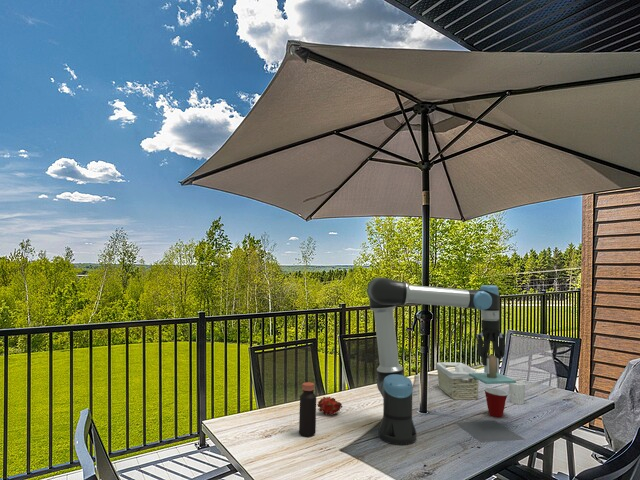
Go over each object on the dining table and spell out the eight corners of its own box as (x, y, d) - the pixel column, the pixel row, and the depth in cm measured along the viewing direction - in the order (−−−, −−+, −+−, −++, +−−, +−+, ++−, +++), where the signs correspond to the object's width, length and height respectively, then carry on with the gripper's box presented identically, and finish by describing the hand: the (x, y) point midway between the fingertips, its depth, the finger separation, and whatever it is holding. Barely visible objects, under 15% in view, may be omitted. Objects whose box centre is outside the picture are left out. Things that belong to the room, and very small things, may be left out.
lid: (486, 384, 167) (485, 360, 168) (468, 375, 181) (468, 353, 181) (516, 383, 169) (515, 359, 170) (496, 374, 183) (496, 352, 184)
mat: (480, 443, 156) (480, 442, 156) (454, 423, 176) (454, 422, 176) (525, 440, 160) (525, 439, 160) (494, 421, 179) (494, 420, 179)
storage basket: (481, 400, 209) (480, 372, 210) (451, 400, 208) (450, 372, 209) (462, 387, 232) (462, 362, 234) (435, 387, 232) (435, 361, 233)
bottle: (306, 429, 166) (307, 380, 168) (318, 433, 162) (319, 383, 163) (295, 434, 161) (296, 383, 162) (308, 438, 156) (309, 387, 158)
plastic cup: (511, 421, 180) (511, 394, 181) (486, 419, 182) (486, 392, 183) (505, 413, 190) (505, 387, 191) (481, 411, 192) (481, 386, 193)
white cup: (526, 401, 208) (525, 382, 209) (524, 405, 202) (524, 386, 202) (509, 398, 212) (509, 380, 213) (507, 402, 206) (507, 383, 207)
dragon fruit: (315, 416, 185) (340, 420, 185) (317, 410, 178) (343, 415, 178) (317, 398, 190) (341, 402, 190) (319, 392, 184) (344, 396, 184)
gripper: (477, 321, 172) (478, 375, 170) (512, 320, 175) (514, 374, 173) (468, 318, 179) (469, 371, 177) (502, 318, 182) (503, 370, 180)
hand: (491, 372), depth 175 cm, fingers closed on lid, 4 cm apart
